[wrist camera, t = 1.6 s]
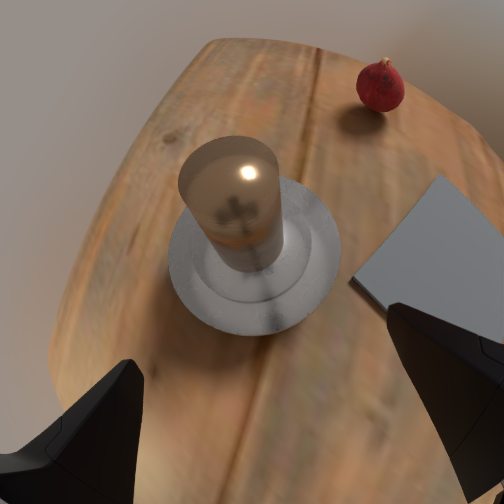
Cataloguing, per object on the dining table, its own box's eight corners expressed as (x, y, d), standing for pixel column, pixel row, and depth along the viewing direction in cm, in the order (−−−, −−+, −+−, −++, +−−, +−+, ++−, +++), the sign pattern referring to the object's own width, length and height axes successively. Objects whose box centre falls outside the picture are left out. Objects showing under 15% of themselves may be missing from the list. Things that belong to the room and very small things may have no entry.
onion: (396, 131, 28) (413, 79, 20) (350, 118, 29) (358, 63, 22) (396, 104, 29) (409, 56, 22) (355, 92, 31) (362, 43, 23)
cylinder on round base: (244, 373, 17) (203, 385, 9) (146, 248, 21) (78, 186, 13) (371, 252, 19) (418, 177, 10) (259, 157, 23) (243, 69, 15)
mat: (464, 397, 17) (467, 398, 16) (351, 277, 22) (353, 275, 22) (527, 274, 19) (530, 272, 19) (438, 176, 25) (440, 173, 24)
